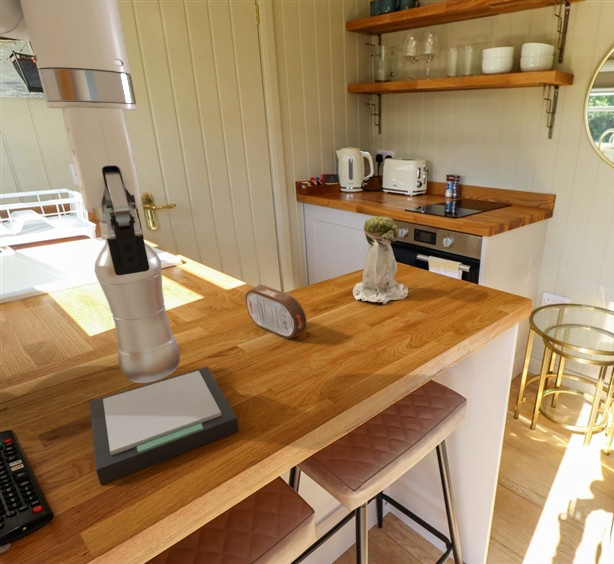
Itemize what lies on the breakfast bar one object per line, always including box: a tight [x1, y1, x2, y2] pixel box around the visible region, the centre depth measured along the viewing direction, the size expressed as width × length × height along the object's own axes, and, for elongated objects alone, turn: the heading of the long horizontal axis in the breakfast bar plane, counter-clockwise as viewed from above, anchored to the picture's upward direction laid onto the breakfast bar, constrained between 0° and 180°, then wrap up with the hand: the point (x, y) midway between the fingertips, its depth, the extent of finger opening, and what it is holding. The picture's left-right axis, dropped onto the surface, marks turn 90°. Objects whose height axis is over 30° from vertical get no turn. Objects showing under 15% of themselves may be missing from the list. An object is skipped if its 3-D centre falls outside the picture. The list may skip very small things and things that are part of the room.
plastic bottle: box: [94, 217, 181, 384], centre depth 50 cm, size 6×7×20 cm
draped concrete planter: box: [352, 215, 409, 305], centre depth 97 cm, size 12×13×18 cm
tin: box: [244, 284, 307, 340], centre depth 80 cm, size 15×3×8 cm, turn 54°
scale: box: [89, 366, 239, 486], centre depth 56 cm, size 15×15×3 cm
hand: (128, 262), depth 48 cm, fingers closed on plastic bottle, 6 cm apart
